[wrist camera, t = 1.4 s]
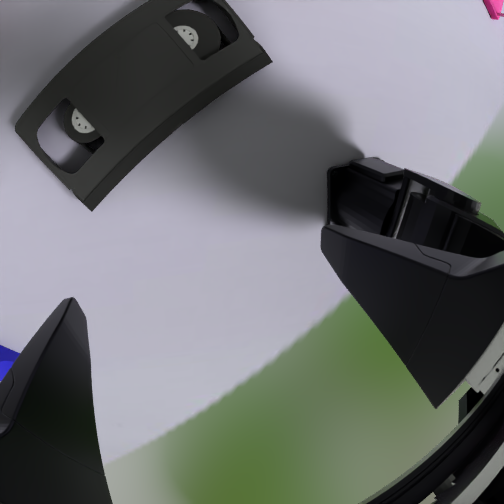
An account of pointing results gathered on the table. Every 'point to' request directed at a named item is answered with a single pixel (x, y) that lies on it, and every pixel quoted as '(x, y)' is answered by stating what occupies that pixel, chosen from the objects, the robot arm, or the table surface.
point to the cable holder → (6, 360)
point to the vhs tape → (140, 88)
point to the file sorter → (494, 8)
